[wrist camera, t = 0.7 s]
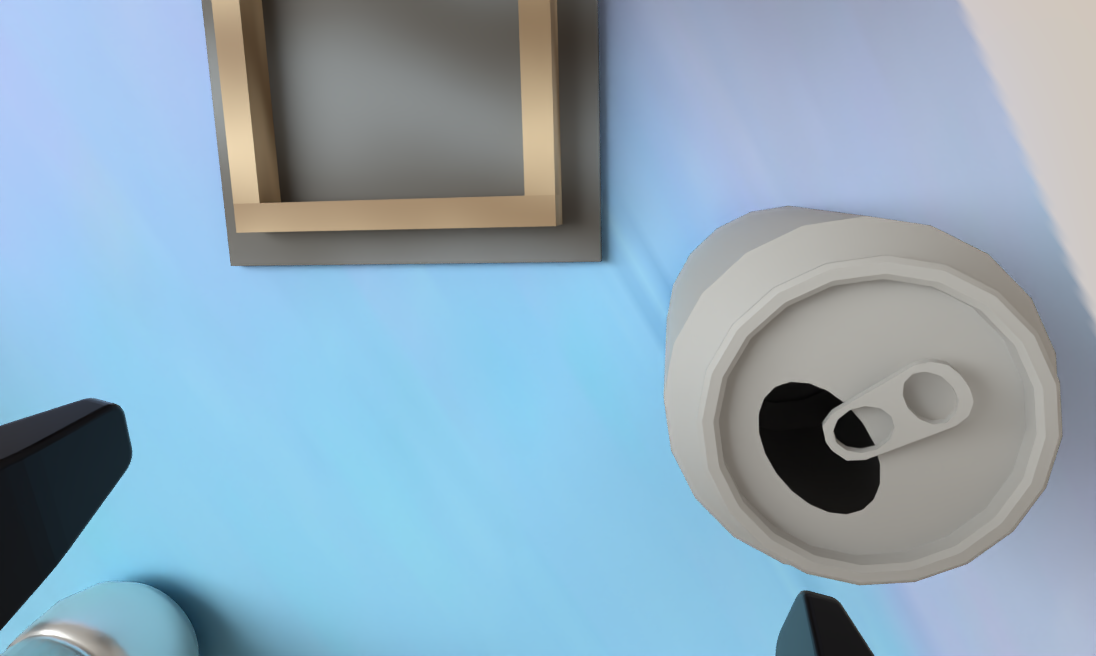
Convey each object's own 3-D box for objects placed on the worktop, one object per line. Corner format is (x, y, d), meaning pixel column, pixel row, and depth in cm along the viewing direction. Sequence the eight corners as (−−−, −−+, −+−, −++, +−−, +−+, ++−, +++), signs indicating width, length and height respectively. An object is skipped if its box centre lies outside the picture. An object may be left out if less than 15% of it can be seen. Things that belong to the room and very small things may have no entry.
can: (624, 290, 25) (583, 377, 13) (813, 158, 23) (955, 126, 12) (746, 460, 25) (809, 689, 14) (941, 344, 24) (1203, 494, 12)
